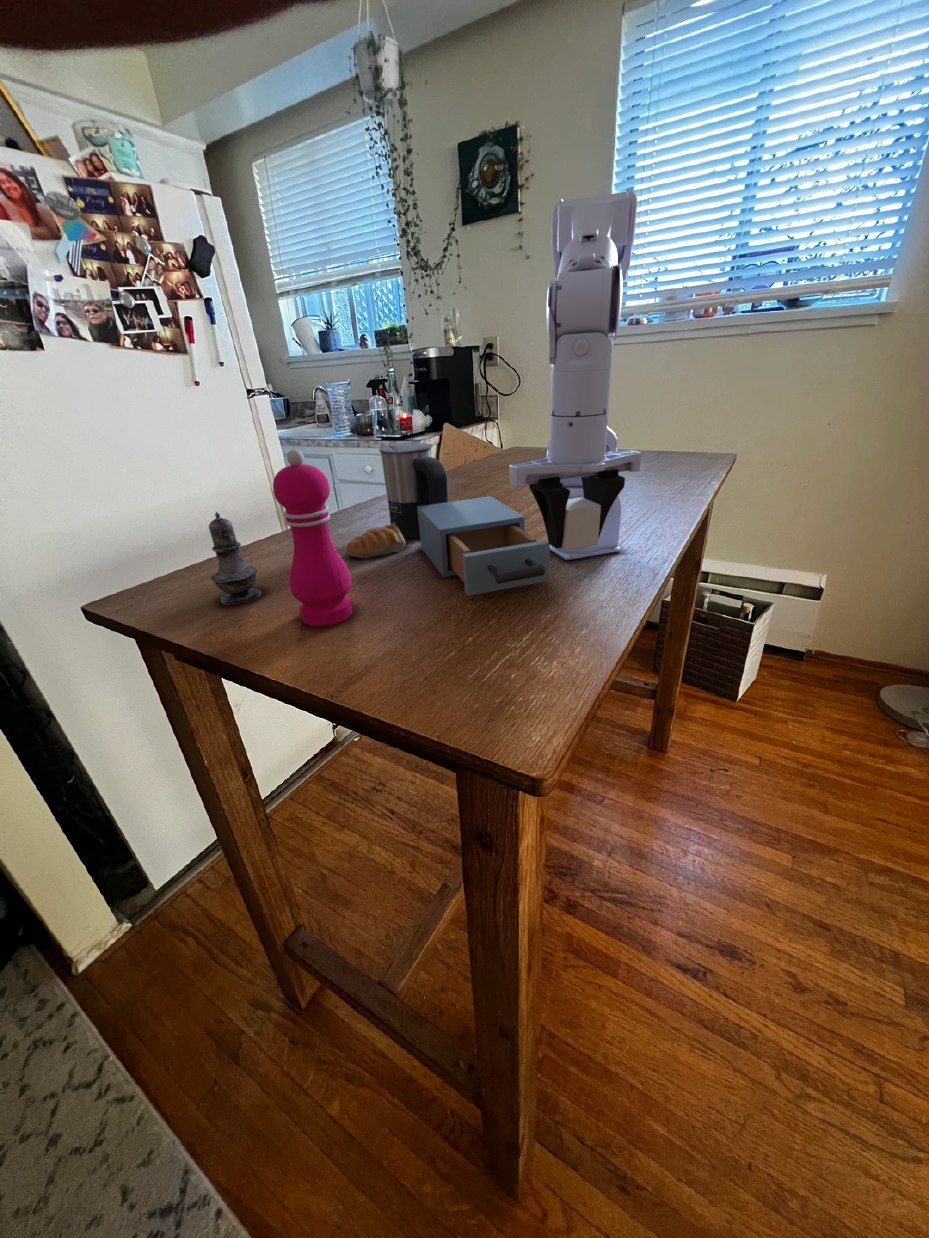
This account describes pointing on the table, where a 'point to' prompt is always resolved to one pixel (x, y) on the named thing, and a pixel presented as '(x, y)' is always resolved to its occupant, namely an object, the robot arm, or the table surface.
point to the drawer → (497, 558)
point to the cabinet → (459, 524)
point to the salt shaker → (231, 565)
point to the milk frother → (412, 483)
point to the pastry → (377, 542)
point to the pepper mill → (312, 544)
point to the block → (581, 524)
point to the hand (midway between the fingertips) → (572, 542)
